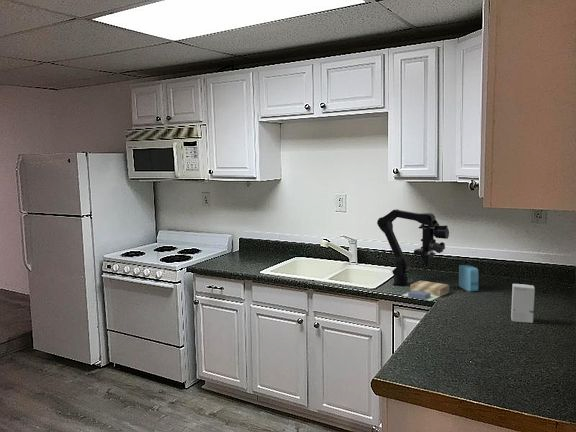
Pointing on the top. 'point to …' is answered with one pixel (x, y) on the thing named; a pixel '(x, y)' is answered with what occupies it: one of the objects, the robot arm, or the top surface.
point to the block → (419, 294)
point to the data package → (468, 278)
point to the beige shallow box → (430, 288)
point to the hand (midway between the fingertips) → (427, 266)
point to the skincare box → (522, 303)
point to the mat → (424, 299)
